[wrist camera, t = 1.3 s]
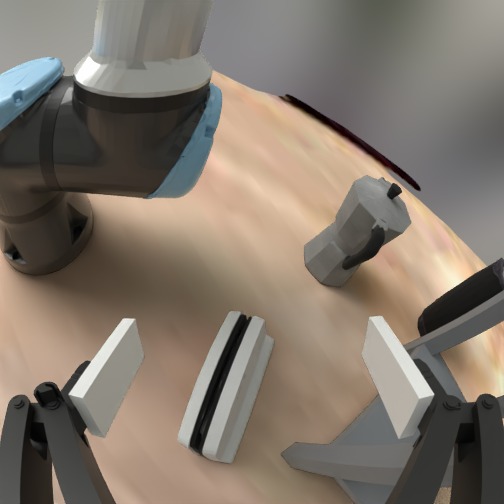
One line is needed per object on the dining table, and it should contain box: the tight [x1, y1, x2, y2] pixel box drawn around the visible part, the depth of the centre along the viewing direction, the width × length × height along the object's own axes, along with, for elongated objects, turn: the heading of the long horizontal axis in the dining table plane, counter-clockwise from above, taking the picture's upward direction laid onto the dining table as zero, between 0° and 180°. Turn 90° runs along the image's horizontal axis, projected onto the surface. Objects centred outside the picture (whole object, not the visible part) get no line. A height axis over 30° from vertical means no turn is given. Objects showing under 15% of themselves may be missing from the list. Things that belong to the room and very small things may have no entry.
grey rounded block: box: [178, 311, 274, 463], centre depth 27 cm, size 17×5×10 cm, turn 160°
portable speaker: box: [418, 258, 504, 337], centre depth 37 cm, size 9×9×20 cm
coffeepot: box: [304, 175, 411, 287], centre depth 38 cm, size 15×9×18 cm, turn 152°
